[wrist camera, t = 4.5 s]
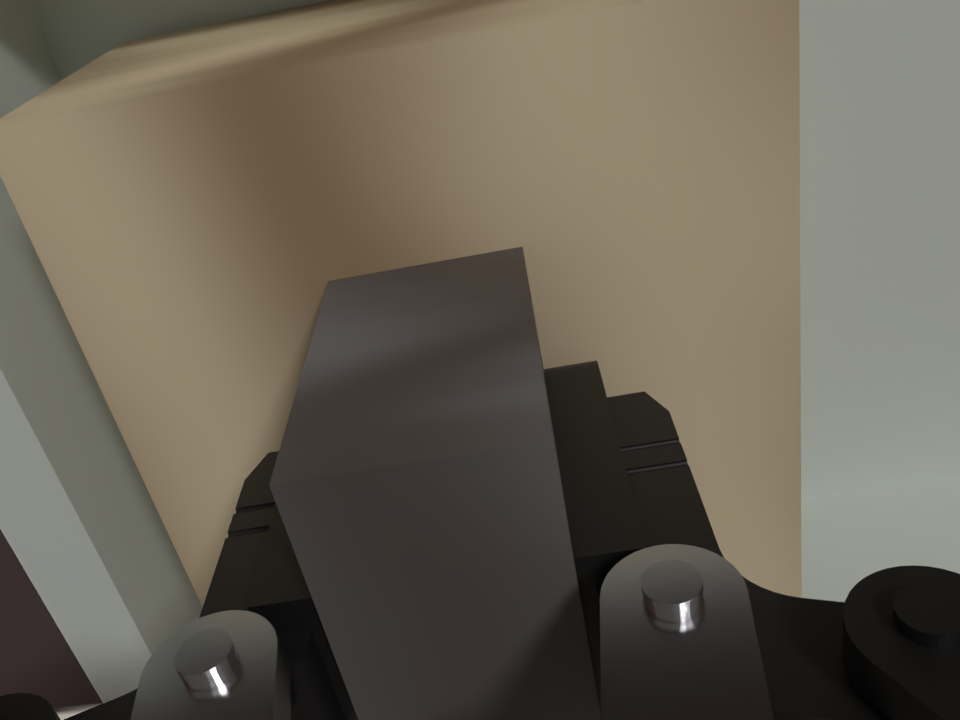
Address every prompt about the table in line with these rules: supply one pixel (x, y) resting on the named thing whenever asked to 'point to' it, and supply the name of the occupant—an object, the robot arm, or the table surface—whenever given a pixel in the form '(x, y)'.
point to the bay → (824, 328)
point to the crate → (435, 300)
